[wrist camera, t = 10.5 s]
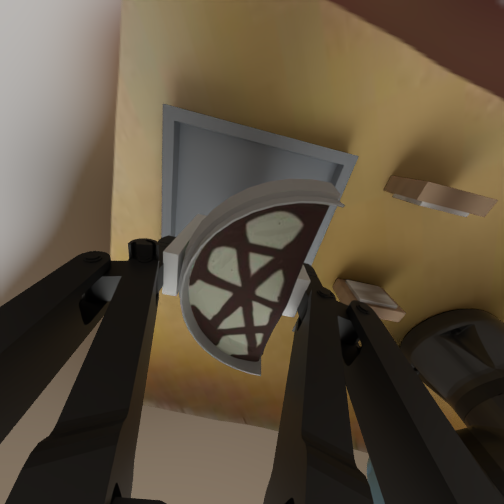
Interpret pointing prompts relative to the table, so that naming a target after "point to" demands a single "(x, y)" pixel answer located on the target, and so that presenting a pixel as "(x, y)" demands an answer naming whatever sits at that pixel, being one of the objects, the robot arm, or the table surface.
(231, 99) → the table surface
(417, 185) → the brown rectangular blocks
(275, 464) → the robot arm
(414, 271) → the table surface
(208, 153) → the tray
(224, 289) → the food container
